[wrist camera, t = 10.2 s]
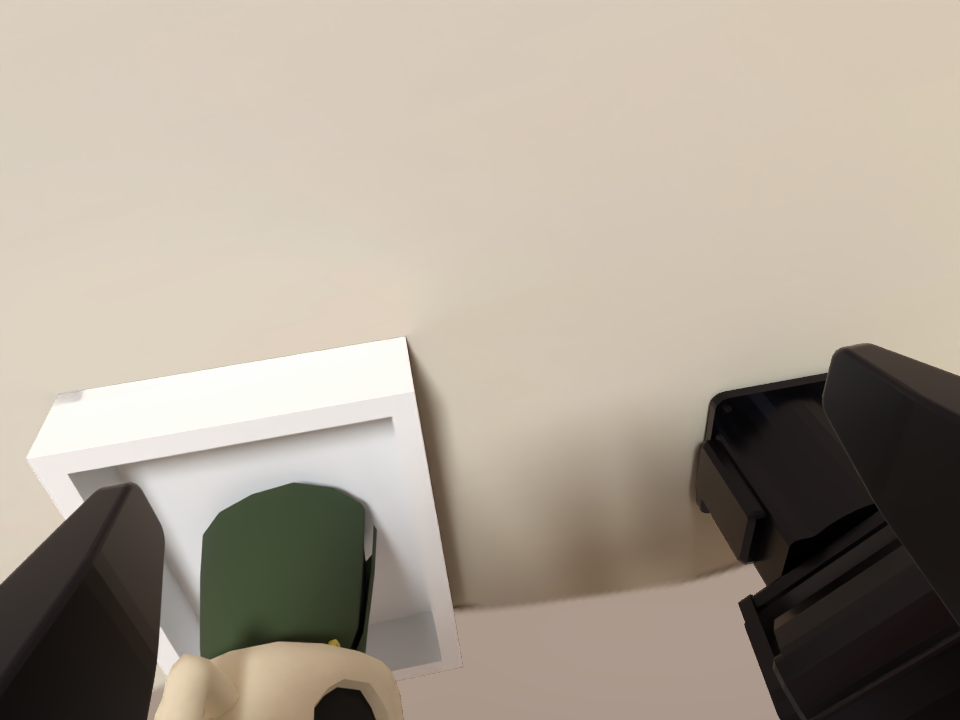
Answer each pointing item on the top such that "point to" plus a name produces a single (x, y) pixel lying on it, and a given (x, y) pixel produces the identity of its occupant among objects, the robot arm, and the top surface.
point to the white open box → (270, 476)
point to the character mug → (284, 616)
